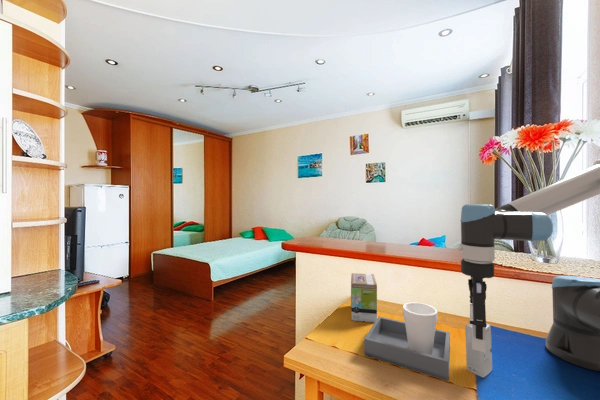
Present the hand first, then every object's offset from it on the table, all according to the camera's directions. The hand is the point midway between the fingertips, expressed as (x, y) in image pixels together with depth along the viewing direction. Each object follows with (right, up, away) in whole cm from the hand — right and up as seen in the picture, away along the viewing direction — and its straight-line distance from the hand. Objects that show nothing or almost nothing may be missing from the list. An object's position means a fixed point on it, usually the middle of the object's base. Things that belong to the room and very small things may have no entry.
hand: (476, 337), depth 70 cm
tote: (-15, -9, +8) cm, 20 cm away
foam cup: (-12, -8, +7) cm, 16 cm away
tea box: (-22, -9, +35) cm, 43 cm away
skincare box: (+1, -9, 0) cm, 9 cm away
